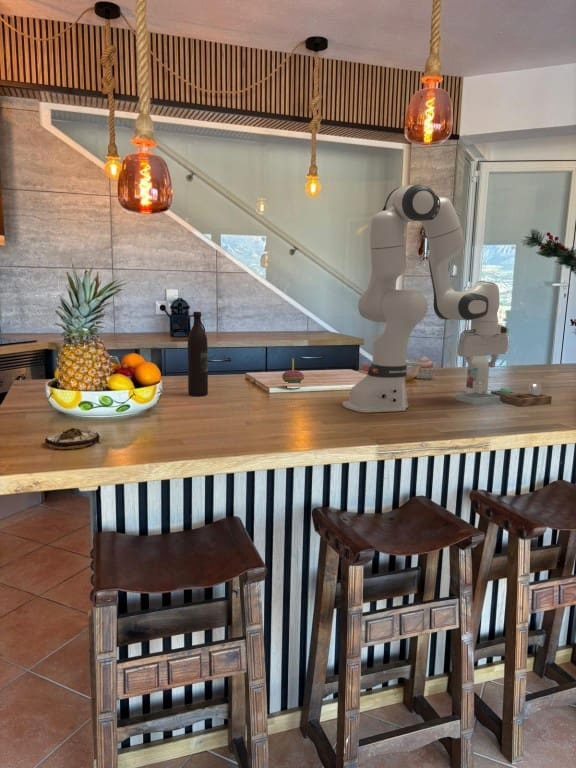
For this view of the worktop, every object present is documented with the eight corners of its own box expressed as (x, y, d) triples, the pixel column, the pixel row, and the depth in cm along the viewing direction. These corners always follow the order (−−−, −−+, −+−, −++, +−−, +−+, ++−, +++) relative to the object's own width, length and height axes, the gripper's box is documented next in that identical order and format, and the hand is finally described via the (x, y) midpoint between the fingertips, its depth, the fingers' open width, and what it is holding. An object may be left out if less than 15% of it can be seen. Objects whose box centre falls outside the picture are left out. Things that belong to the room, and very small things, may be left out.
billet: (477, 402, 198) (478, 382, 197) (469, 400, 201) (470, 380, 200) (486, 401, 200) (487, 381, 198) (477, 399, 203) (479, 380, 202)
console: (504, 402, 200) (505, 394, 200) (490, 399, 206) (490, 391, 206) (519, 401, 203) (520, 393, 203) (504, 397, 209) (504, 389, 209)
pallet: (519, 408, 192) (520, 399, 191) (501, 403, 199) (502, 395, 198) (550, 404, 198) (551, 396, 198) (532, 400, 205) (533, 392, 205)
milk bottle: (484, 393, 218) (488, 341, 214) (489, 397, 210) (493, 343, 207) (463, 392, 219) (467, 340, 215) (468, 396, 211) (472, 343, 208)
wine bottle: (202, 397, 201) (201, 312, 196) (184, 395, 203) (183, 311, 198) (211, 393, 208) (210, 311, 202) (194, 392, 210) (193, 311, 205)
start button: (505, 397, 202) (505, 389, 202) (497, 396, 205) (498, 387, 205) (512, 397, 204) (512, 389, 203) (504, 395, 207) (505, 387, 206)
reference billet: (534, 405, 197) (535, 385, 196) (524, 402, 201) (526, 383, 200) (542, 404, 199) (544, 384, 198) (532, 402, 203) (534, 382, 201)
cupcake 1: (281, 386, 226) (281, 356, 224) (302, 386, 227) (302, 356, 224) (283, 390, 217) (283, 359, 215) (305, 390, 218) (305, 359, 216)
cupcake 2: (436, 378, 252) (437, 355, 250) (432, 381, 243) (434, 358, 242) (415, 376, 256) (416, 354, 254) (411, 379, 247) (412, 356, 245)
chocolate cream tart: (69, 456, 132) (68, 439, 131) (27, 447, 139) (26, 431, 138) (117, 442, 145) (116, 426, 144) (76, 434, 152) (75, 419, 151)
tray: (473, 406, 194) (474, 398, 194) (455, 401, 202) (456, 394, 202) (499, 403, 199) (500, 396, 199) (480, 398, 207) (481, 391, 207)
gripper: (467, 331, 189) (465, 371, 191) (512, 328, 197) (509, 367, 200) (454, 329, 194) (452, 369, 197) (498, 326, 203) (496, 364, 206)
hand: (481, 368), depth 199 cm, fingers open, 8 cm apart
